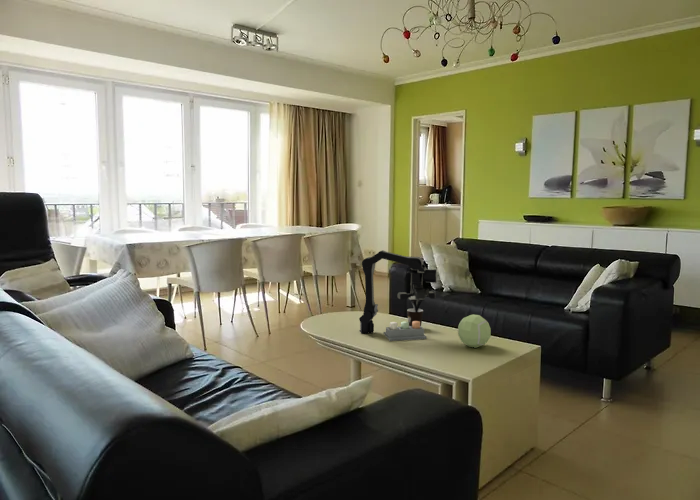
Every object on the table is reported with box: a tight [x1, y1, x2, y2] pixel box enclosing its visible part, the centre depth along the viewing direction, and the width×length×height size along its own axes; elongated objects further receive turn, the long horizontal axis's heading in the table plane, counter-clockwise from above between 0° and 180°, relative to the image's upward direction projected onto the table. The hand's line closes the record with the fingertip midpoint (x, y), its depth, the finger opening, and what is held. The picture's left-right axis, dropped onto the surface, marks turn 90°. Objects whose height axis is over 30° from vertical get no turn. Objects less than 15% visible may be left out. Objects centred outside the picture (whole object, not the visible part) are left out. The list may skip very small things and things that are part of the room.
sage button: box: [400, 320, 409, 329], centre depth 266 cm, size 4×4×4 cm
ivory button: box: [389, 321, 398, 330], centre depth 265 cm, size 4×4×4 cm
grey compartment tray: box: [383, 325, 428, 342], centre depth 267 cm, size 19×13×4 cm
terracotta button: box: [412, 321, 420, 329], centre depth 267 cm, size 4×4×4 cm
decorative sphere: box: [457, 314, 492, 349], centre depth 248 cm, size 15×15×15 cm
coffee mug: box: [406, 308, 424, 327], centre depth 285 cm, size 12×9×10 cm
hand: (416, 312), depth 267 cm, fingers closed
